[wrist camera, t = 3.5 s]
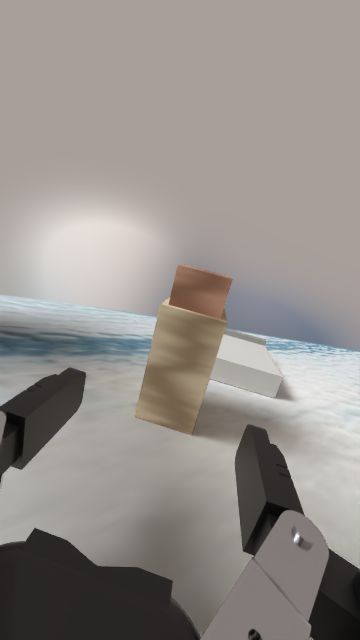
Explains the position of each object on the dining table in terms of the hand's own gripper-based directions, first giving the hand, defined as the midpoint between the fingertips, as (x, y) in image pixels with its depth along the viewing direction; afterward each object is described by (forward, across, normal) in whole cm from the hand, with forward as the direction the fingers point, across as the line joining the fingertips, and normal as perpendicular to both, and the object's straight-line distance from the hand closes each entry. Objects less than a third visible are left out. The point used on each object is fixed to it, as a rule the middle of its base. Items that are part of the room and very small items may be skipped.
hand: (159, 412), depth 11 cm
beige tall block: (+9, 0, +6) cm, 11 cm away
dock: (+23, -5, +6) cm, 25 cm away
